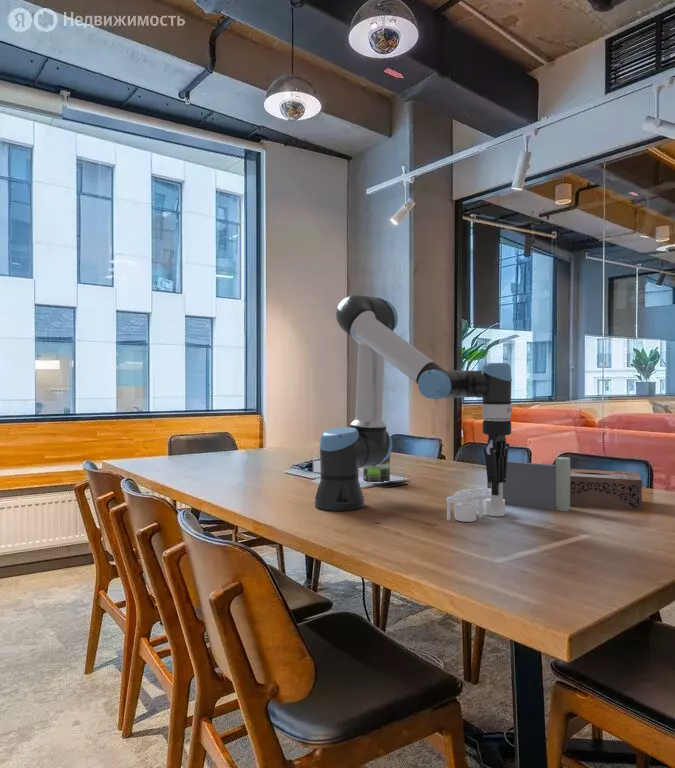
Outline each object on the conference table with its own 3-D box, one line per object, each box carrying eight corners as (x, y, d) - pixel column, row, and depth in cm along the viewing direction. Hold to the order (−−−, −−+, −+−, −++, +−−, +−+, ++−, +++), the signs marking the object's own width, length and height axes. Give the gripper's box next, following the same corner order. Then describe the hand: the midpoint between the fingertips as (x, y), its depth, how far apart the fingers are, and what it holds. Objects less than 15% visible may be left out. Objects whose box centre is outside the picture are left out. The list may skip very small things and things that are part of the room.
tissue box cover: (547, 507, 177) (547, 474, 177) (549, 498, 190) (549, 467, 190) (641, 514, 167) (641, 480, 167) (636, 504, 181) (636, 472, 181)
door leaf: (563, 517, 163) (563, 460, 163) (484, 506, 176) (484, 454, 176) (571, 511, 170) (571, 457, 170) (495, 501, 184) (495, 451, 184)
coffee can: (387, 485, 212) (387, 447, 212) (360, 483, 215) (360, 446, 215) (392, 480, 222) (392, 443, 221) (366, 479, 225) (366, 443, 224)
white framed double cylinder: (461, 529, 151) (461, 501, 150) (432, 520, 160) (432, 494, 160) (513, 519, 161) (513, 493, 161) (484, 511, 171) (484, 487, 170)
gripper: (501, 421, 149) (501, 513, 149) (518, 418, 160) (518, 504, 160) (474, 420, 154) (474, 509, 154) (492, 417, 164) (492, 500, 164)
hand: (496, 506), depth 157 cm, fingers closed
